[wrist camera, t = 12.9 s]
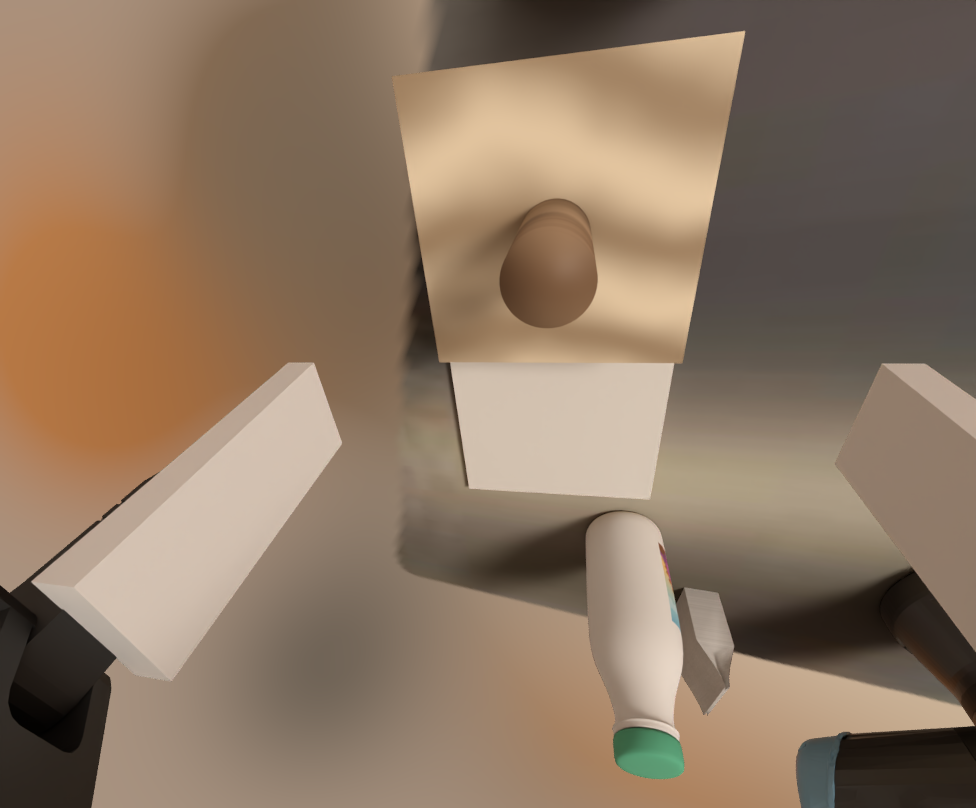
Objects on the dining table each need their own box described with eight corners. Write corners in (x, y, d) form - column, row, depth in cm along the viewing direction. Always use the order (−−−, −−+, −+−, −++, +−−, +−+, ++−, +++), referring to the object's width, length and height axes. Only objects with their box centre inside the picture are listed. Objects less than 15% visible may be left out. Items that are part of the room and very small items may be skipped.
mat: (649, 494, 42) (649, 499, 41) (470, 484, 45) (469, 488, 44) (678, 323, 32) (680, 326, 31) (446, 326, 35) (445, 329, 35)
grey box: (668, 619, 52) (686, 711, 44) (684, 587, 49) (706, 682, 40) (699, 624, 52) (723, 718, 44) (718, 592, 48) (747, 690, 40)
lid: (678, 354, 28) (716, 442, 20) (443, 354, 31) (401, 431, 23) (736, 35, 19) (842, -17, 12) (399, 78, 22) (309, 59, 14)
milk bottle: (571, 538, 47) (570, 762, 31) (612, 497, 43) (635, 734, 26) (631, 565, 48) (661, 797, 32) (676, 528, 44) (738, 775, 27)
